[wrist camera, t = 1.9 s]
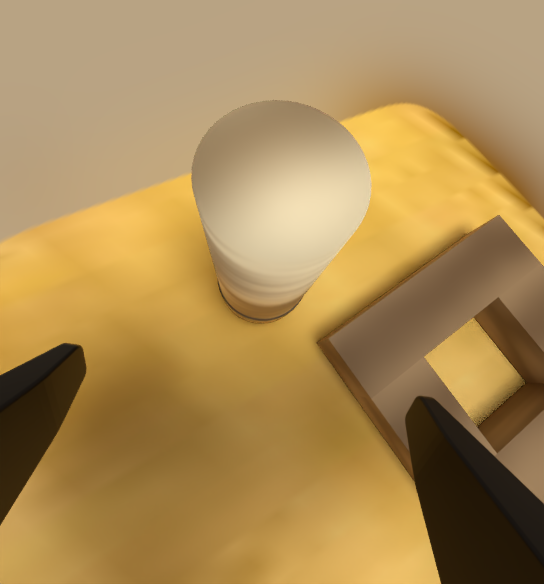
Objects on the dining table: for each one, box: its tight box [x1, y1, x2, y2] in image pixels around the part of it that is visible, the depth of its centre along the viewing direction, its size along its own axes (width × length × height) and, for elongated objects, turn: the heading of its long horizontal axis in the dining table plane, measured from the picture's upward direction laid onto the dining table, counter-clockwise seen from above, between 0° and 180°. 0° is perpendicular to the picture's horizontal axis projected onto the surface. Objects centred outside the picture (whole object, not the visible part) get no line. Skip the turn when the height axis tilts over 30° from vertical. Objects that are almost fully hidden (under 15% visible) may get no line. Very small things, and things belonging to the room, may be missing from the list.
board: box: [317, 215, 544, 503], centre depth 19 cm, size 22×14×3 cm, turn 35°
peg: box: [192, 100, 371, 323], centre depth 15 cm, size 5×5×13 cm
